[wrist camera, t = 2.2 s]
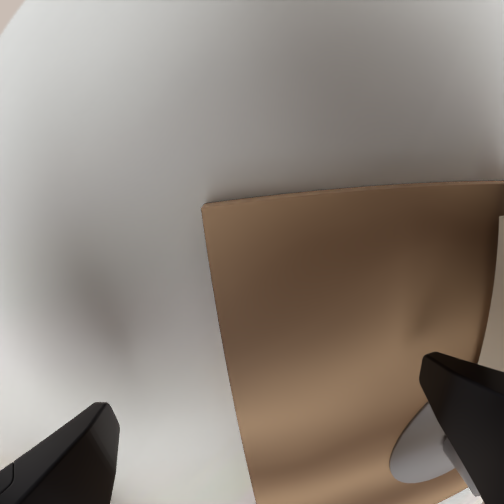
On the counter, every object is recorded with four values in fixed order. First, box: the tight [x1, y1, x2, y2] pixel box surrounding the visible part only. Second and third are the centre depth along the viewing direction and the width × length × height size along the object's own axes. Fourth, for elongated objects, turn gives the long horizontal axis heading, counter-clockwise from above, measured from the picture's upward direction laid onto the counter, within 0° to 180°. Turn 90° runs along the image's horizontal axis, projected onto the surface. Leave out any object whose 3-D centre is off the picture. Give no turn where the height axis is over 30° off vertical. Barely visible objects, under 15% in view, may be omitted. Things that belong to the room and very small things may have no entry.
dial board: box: [201, 181, 504, 504], centre depth 11 cm, size 20×21×1 cm
